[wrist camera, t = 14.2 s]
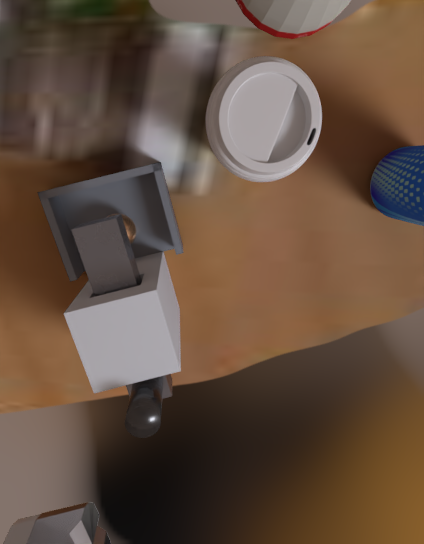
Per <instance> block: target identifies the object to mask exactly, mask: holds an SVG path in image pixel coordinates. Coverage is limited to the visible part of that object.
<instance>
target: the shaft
mask: <svg viewBox="0 0 424 544" xmlns="http://www.w3.org/2000/svg"><path fill="white" fill-rule="evenodd" d="M71 230H72V233H73V236H74V239H75V242H76V245H77V247H78V250H79V253H80V256H81V259H82V262H83V264H84V267H85V270H86V273H87V276H88V279H89V282H90V284H91V287H92V290H93V293H94V296H95V297H96V296H100V295H103V294H107V293H111V292H115V291H119V290H123V289H127V288H131V287H135V286H139V285H141V283H142V280H141V277H140V274H139V270H138V267H137V264H136V261H135V257H134V254H133V251H132V248H131V244H130V241H129V238H128V235H127V231H126V228H125V225H124V222H123V218H122V215H121V214H118V215H114V216H110V217H106V218H102V219H98V220H94V221H90V222H86V223H82V224H79V225H78V226H76V227H74V228H73V229H71ZM126 387H127V390H128V393H129V395H130V400H129V405H128V410H127V415H126V420H125V426H126V429H127V431H128V432H129V433H130V434H132V435H133V436H136V437H142V438H145V437H149V436H152V435H153V434H155V433H156V432H157V431H158V429H159V427H160V422H161V407H162V399H163V398H166V397H170V396H172V378H171V374H168V375H164V376H160V377H156V378H152V379H148V380H144V381H140V382H137V383H133V384H129V385H126Z"/></svg>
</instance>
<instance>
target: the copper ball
mask: <svg viewBox="0 0 424 544" xmlns="http://www.w3.org/2000/svg"><path fill="white" fill-rule="evenodd" d="M118 214H120V213H115V214H111V215H109V216H107V217H110V216H114V215H118ZM121 215H122V218H123V222H124V225H125V228H126V231H127V235H128V238H129V241H130V244H132V243H133V241H134V239H135V237H136V226H135V224H134V222H133V221H132V219H131V218H129V217H128V216H126V215H124V214H121Z"/></svg>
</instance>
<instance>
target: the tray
mask: <svg viewBox="0 0 424 544" xmlns="http://www.w3.org/2000/svg"><path fill="white" fill-rule="evenodd" d="M38 195H39V198H40V201H41V203H42V206H43V209H44V212H45V214H46V217H47V220H48V222H49V225H50V228H51V231H52V233H53V236H54V239H55V242H56V244H57V247H58V250H59V252H60V255H61V258H62V261H63V263H64V266H65V269H66V271H67V274H68V277H69V280H70V281H74V280H77V279H78V278H79V277H80V276H81V275H82V273H83V272H84V271H86V270H85V267H84V264H83V262H82V259H81V256H80V253H79V250H78V247H77V245H76V242H75V239H74V236H73V233H72V230H71V229H73V228H74V227H76V226H78V225H79V224H82V223H86V222H90V221H94V220H98V219H102V218H106V217H107V216H109V215H111V214H115V213H120V214H124V215H126V216H128V217H129V218H131V219H132V221H133V222H134V224H135V226H136V237H135V239H134V241H133V243H132V244H131V248H132V251H133V254H134V257H135V258H139V257H143V256H147V255H151V254H155V253H159V252H163V251H167V250H171V249H175V251H176V255H177V254H181V253H183V244H182V240H181V237H180V233H179V229H178V225H177V222H176V218H175V214H174V210H173V206H172V203H171V199H170V195H169V191H168V188H167V184H166V180H165V176H164V173H163V169H162V165H161V162H159V163H155V164H151V165H147V166H143V167H139V168H135V169H131V170H127V171H123V172H119V173H115V174H110V175H106V176H102V177H98V178H94V179H90V180H86V181H82V182H78V183H74V184H70V185H66V186H62V187H58V188H54V189H50V190H46V191H42V192H38Z"/></svg>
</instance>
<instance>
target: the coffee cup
mask: <svg viewBox="0 0 424 544" xmlns="http://www.w3.org/2000/svg"><path fill="white" fill-rule="evenodd" d="M321 125H322V108H321V102H320V98H319V95H318V92H317V90H316V88H315V86H314V84H313V83H312V81H311V80H310V78H309V77H308V76H307V75H306V73H305V72H304V71H303V70H301V69H300V68H299V67H298V66H296V65H295V64H293V63H291V62H289V61H287V60H285V59H282V58H278V57H271V56H260V57H254V58H250V59H247V60H244V61H242V62H240V63H238V64H236V65H235V66H233V67H232V68H231V69H229V70H228V71H227V72H226V73H225V74H224V75H223V76H222V77H221V79H220V80H219V81H218V83H217V84H216V86H215V87H214V89H213V91H212V93H211V96H210V98H209V102H208V105H207V111H206V132H207V137H208V140H209V143H210V146H211V148H212V150H213V152H214V154H215V156H216V157H217V159H218V160H219V161H220V163H221V164H222V165H223V166H224V167H225V168H226V169H227V170H229V171H230V172H231V173H233V174H234V175H236V176H238V177H240V178H243V179H245V180H249V181H254V182H270V181H275V180H278V179H281V178H284V177H286V176H288V175H290V174H291V173H293V172H294V171H296V170H297V169H298V168H299V167H300V166H301V165H302V164H303V163H304V162H305V161H306V160H307V159H308V157H309V156H310V155H311V153H312V151H313V150H314V148H315V146H316V144H317V141H318V138H319V135H320V131H321Z"/></svg>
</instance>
